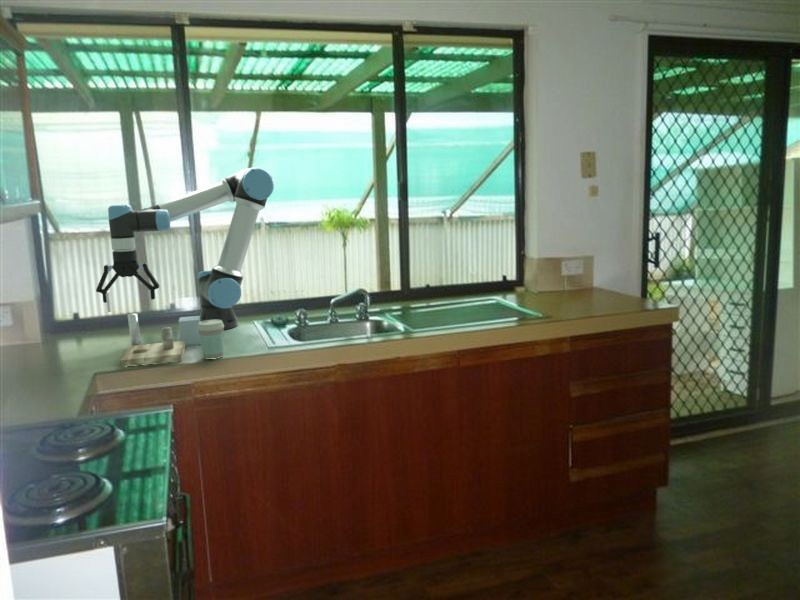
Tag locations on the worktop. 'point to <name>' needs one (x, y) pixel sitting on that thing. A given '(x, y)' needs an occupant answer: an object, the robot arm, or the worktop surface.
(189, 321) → the block
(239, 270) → the robot arm
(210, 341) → the coffee cup
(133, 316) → the peg
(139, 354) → the board
